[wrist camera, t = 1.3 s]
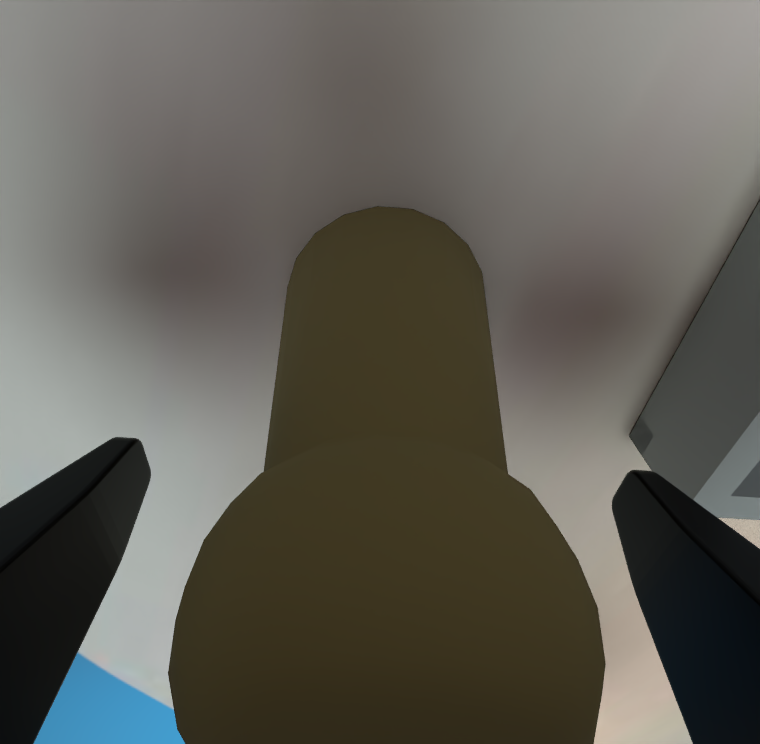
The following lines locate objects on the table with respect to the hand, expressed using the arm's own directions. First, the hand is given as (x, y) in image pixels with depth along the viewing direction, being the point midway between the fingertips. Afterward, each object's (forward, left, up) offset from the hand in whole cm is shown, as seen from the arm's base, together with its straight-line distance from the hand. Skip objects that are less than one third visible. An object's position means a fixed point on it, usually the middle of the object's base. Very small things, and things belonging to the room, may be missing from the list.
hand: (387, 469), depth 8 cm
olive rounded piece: (0, 0, -7) cm, 7 cm away
